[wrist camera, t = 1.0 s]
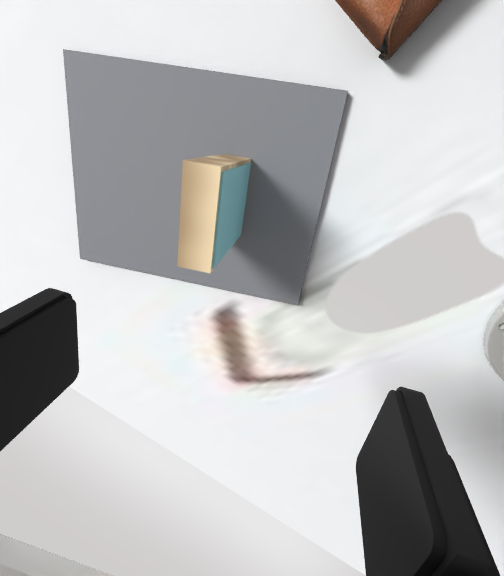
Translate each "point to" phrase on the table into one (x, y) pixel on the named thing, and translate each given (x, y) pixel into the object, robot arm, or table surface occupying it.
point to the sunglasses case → (387, 20)
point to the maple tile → (211, 209)
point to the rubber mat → (188, 145)
